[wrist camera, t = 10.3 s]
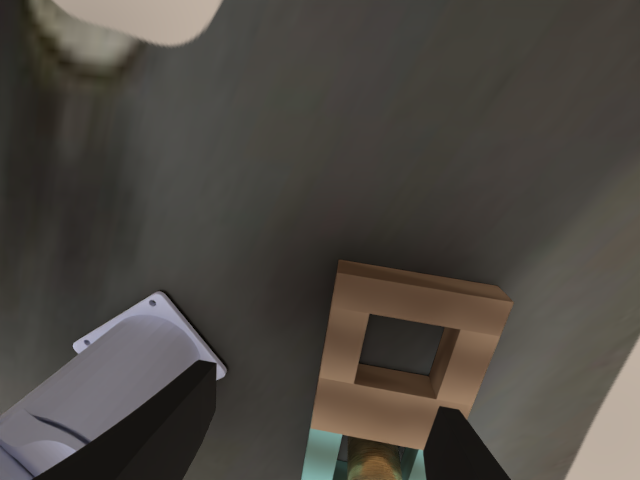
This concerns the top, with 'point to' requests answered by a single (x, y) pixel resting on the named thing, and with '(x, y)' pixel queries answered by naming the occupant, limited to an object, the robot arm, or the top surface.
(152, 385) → the robot arm
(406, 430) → the docking plate
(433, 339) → the top surface
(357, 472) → the brass pin
